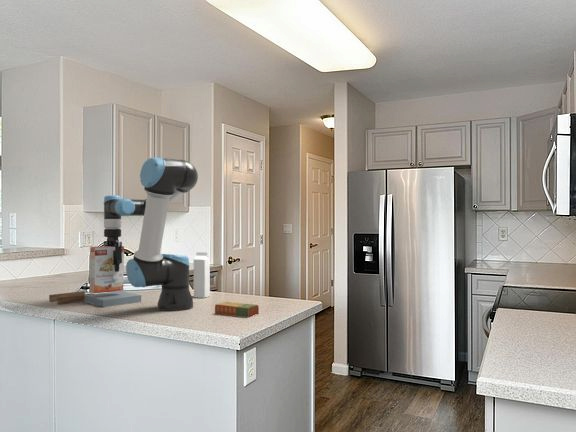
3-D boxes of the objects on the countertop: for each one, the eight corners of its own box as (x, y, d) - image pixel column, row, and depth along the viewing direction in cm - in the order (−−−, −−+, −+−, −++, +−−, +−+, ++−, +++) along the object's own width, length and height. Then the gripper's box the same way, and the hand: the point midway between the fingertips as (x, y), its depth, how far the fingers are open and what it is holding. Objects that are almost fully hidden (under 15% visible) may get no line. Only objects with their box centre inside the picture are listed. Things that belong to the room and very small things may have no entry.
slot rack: (93, 299, 222) (93, 293, 222) (58, 304, 211) (58, 297, 211) (83, 297, 230) (83, 291, 230) (49, 301, 219) (49, 294, 219)
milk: (198, 296, 233) (198, 251, 234) (210, 296, 232) (209, 252, 232) (193, 297, 227) (193, 252, 228) (204, 298, 226) (204, 252, 226)
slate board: (141, 301, 217) (141, 295, 217) (103, 307, 204) (103, 300, 204) (120, 296, 231) (120, 290, 231) (84, 301, 218) (84, 295, 218)
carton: (226, 311, 197) (226, 300, 197) (259, 314, 190) (259, 304, 190) (214, 314, 189) (214, 304, 189) (248, 318, 182) (248, 307, 182)
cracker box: (94, 293, 208) (94, 247, 208) (88, 292, 213) (89, 246, 213) (124, 290, 219) (124, 245, 219) (118, 288, 223) (118, 245, 223)
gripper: (130, 228, 214) (130, 279, 214) (111, 228, 227) (111, 275, 227) (114, 228, 208) (114, 280, 208) (95, 228, 221) (95, 277, 221)
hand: (112, 277), depth 218 cm, fingers closed on cracker box, 6 cm apart
